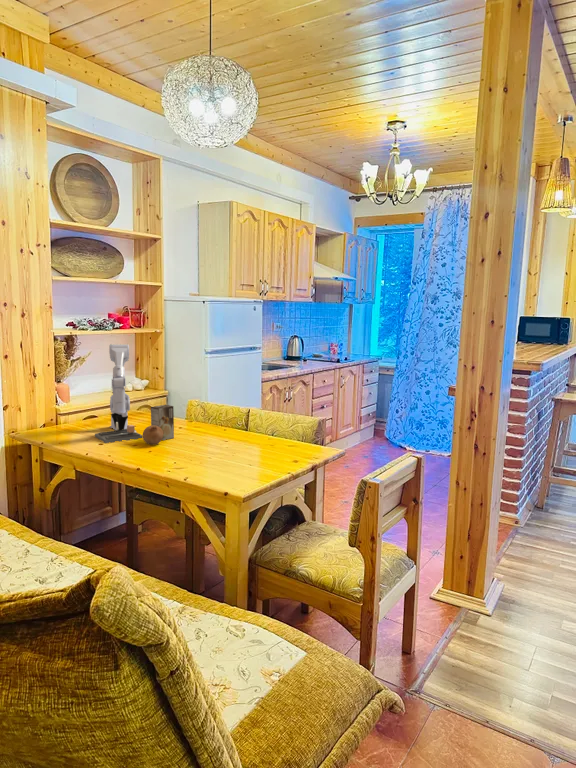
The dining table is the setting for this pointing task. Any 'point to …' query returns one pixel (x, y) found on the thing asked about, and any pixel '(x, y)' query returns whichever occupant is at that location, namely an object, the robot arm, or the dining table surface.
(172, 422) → the coffee box
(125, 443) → the dining table surface
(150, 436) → the onion
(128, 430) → the fader
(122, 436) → the console
